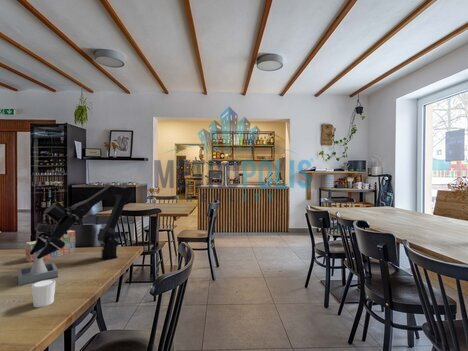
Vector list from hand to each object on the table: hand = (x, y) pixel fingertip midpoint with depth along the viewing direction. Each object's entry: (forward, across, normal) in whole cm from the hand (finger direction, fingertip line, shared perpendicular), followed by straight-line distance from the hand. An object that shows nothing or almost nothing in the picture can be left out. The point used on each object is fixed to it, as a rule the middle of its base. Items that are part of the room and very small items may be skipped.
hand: (33, 256), depth 111 cm
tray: (+6, 0, +7) cm, 9 cm away
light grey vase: (+5, 0, +7) cm, 9 cm away
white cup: (+10, +29, +3) cm, 31 cm away
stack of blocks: (-4, -28, +18) cm, 33 cm away
